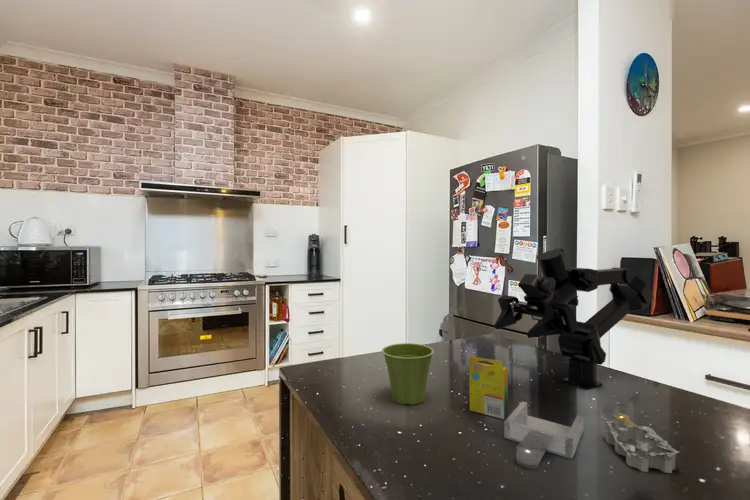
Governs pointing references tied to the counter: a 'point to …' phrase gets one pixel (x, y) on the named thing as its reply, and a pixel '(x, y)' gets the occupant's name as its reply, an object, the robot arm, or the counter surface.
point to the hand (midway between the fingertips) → (510, 331)
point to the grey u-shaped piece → (540, 437)
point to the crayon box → (488, 387)
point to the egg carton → (641, 447)
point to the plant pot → (408, 371)
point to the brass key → (624, 419)
